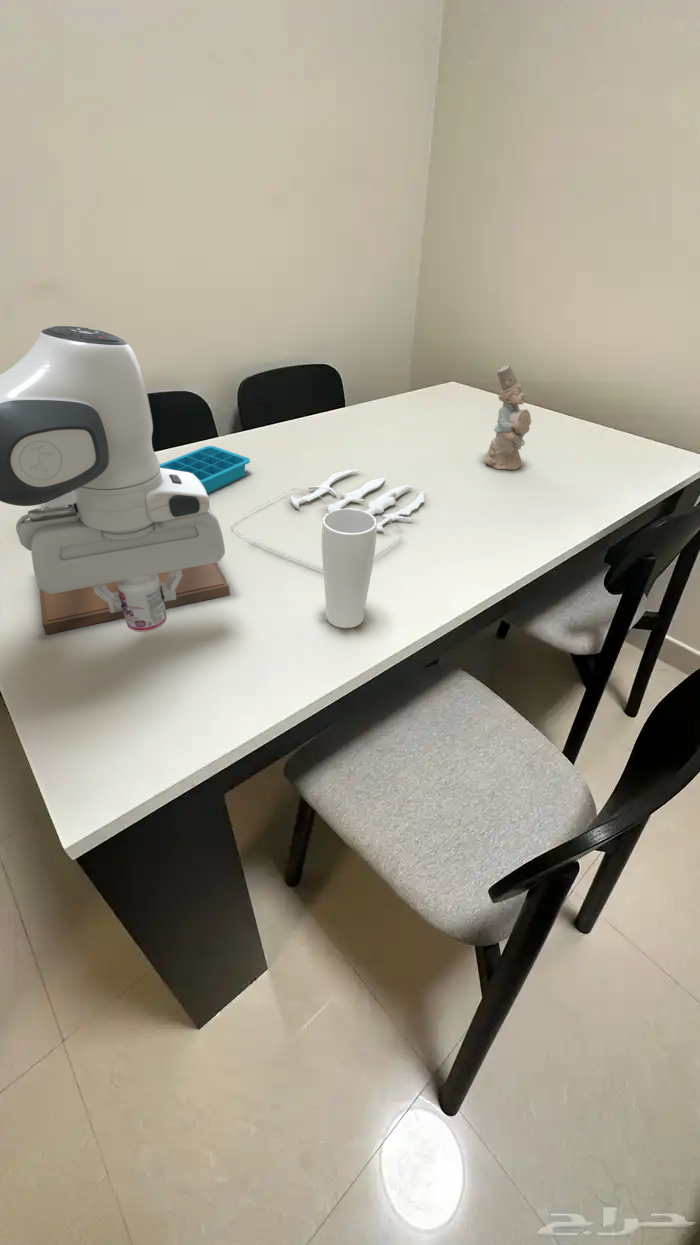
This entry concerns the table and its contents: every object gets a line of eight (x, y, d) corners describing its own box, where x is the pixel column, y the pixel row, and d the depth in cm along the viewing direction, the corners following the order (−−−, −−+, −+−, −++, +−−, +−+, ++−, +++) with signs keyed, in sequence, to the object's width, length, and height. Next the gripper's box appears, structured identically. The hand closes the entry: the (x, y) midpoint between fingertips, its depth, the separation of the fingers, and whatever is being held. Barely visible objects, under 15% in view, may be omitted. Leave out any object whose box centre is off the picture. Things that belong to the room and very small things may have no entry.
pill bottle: (118, 627, 70) (102, 569, 65) (143, 606, 74) (130, 549, 69) (151, 638, 69) (138, 579, 64) (174, 616, 73) (164, 558, 67)
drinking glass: (369, 634, 77) (378, 535, 68) (318, 632, 77) (320, 532, 68) (369, 604, 82) (377, 508, 73) (321, 602, 82) (323, 506, 73)
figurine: (473, 462, 124) (491, 364, 112) (493, 452, 130) (512, 357, 117) (509, 475, 120) (533, 374, 108) (529, 464, 125) (553, 366, 113)
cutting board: (46, 634, 74) (42, 624, 73) (40, 577, 84) (37, 567, 83) (229, 594, 83) (229, 585, 82) (205, 547, 92) (204, 538, 91)
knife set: (452, 502, 109) (453, 496, 108) (344, 584, 86) (345, 578, 85) (341, 465, 120) (341, 460, 119) (219, 529, 97) (218, 523, 96)
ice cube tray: (253, 474, 115) (253, 459, 113) (176, 510, 102) (173, 495, 100) (211, 458, 120) (209, 444, 118) (132, 492, 106) (128, 476, 105)
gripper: (10, 527, 55) (50, 639, 63) (223, 495, 62) (233, 599, 71) (9, 499, 59) (47, 607, 68) (208, 472, 67) (219, 573, 75)
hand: (143, 603), depth 69 cm, fingers closed on pill bottle, 5 cm apart
